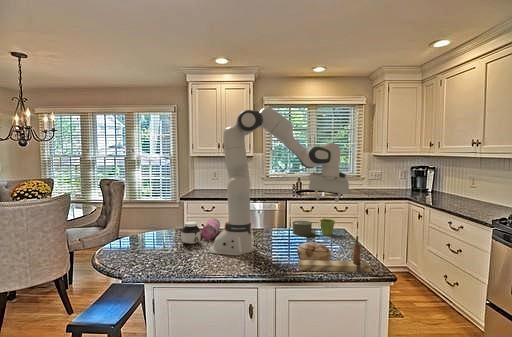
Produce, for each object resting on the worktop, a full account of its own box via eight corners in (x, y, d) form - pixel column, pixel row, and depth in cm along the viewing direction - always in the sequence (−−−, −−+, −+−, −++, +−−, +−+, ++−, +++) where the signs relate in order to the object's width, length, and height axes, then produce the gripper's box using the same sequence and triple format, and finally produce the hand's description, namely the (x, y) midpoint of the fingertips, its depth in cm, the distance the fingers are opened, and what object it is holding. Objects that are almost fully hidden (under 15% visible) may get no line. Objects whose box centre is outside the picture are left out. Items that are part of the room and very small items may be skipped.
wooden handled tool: (354, 264, 136) (354, 237, 135) (352, 262, 139) (352, 235, 138) (361, 264, 136) (361, 237, 135) (359, 262, 139) (359, 235, 138)
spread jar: (185, 246, 172) (185, 225, 171) (176, 242, 180) (176, 221, 180) (205, 243, 179) (205, 222, 179) (195, 238, 188) (195, 219, 187)
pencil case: (216, 240, 185) (216, 224, 185) (200, 240, 185) (200, 224, 185) (221, 231, 206) (221, 217, 206) (206, 231, 207) (206, 217, 206)
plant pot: (336, 236, 193) (336, 222, 192) (321, 236, 193) (321, 222, 193) (333, 232, 202) (333, 219, 202) (318, 232, 202) (318, 219, 202)
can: (315, 234, 198) (315, 223, 198) (299, 236, 192) (299, 225, 192) (304, 230, 209) (304, 220, 208) (288, 232, 203) (288, 221, 203)
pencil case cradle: (198, 239, 186) (197, 234, 186) (207, 230, 209) (207, 225, 209) (220, 240, 185) (220, 234, 185) (227, 230, 208) (227, 226, 208)
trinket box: (295, 255, 157) (295, 239, 156) (326, 255, 157) (326, 239, 157) (300, 265, 143) (300, 247, 143) (333, 264, 144) (333, 247, 143)
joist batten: (298, 270, 136) (298, 264, 136) (298, 265, 142) (298, 259, 142) (370, 272, 134) (370, 266, 134) (367, 267, 140) (367, 261, 140)
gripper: (309, 170, 165) (306, 197, 163) (350, 175, 161) (348, 202, 159) (309, 172, 171) (306, 198, 169) (349, 177, 168) (346, 203, 165)
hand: (327, 200), depth 164 cm, fingers open, 8 cm apart
